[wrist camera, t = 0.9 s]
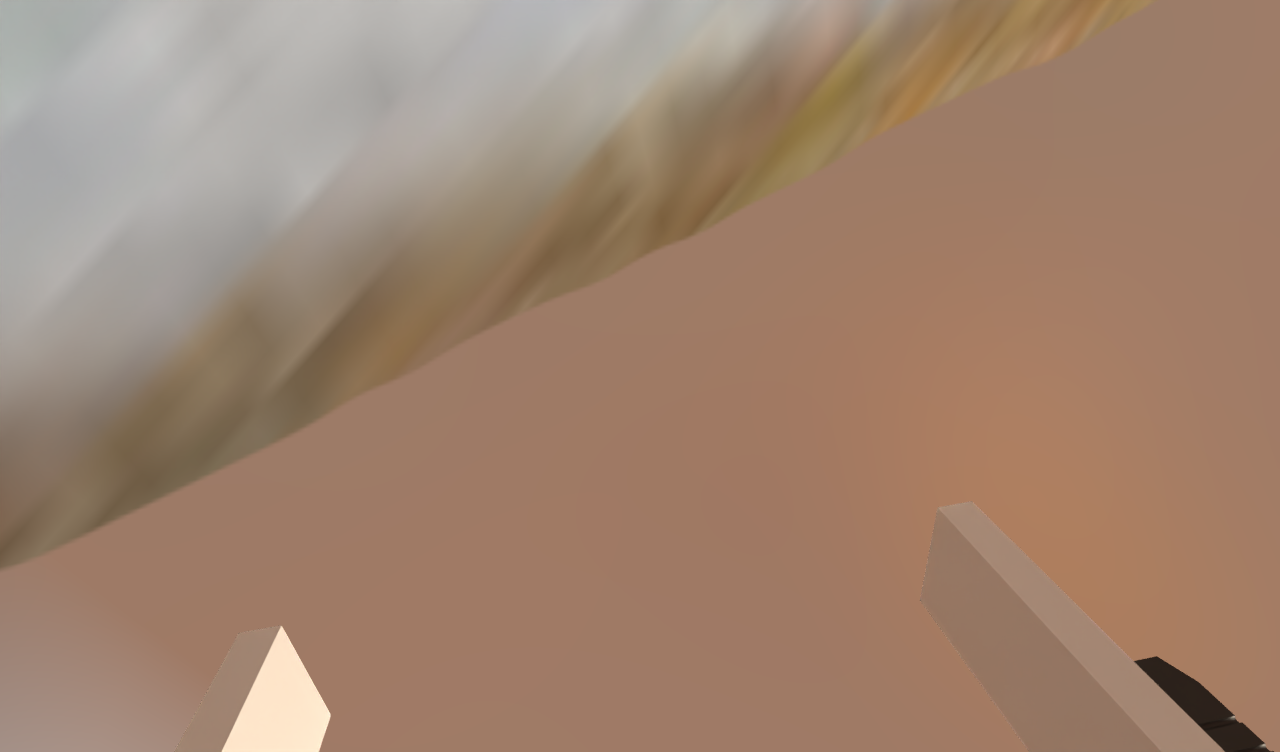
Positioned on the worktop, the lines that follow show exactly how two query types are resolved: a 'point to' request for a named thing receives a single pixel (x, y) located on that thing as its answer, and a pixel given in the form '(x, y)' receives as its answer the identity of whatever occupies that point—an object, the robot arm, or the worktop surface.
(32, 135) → the worktop surface
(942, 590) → the robot arm
